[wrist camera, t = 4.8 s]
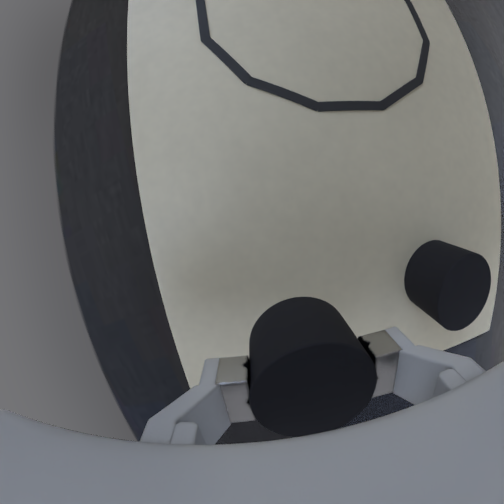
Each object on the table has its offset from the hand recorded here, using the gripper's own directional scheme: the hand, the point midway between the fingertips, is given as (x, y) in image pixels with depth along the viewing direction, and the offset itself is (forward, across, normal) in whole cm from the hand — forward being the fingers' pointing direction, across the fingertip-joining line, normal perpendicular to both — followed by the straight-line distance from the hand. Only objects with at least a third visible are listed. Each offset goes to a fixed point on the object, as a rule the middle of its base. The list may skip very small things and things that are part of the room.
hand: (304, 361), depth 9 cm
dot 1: (+5, -9, 0) cm, 10 cm away
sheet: (+5, -4, -9) cm, 12 cm away
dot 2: (+2, 0, 0) cm, 2 cm away
